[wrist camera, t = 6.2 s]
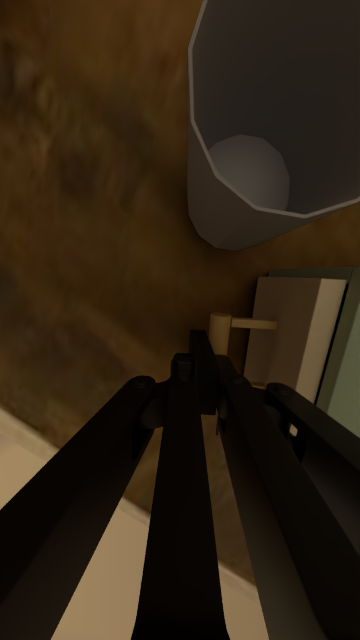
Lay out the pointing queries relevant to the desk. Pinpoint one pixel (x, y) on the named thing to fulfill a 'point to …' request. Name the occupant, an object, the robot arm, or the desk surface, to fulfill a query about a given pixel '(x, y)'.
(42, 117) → the desk surface
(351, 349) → the cabinet
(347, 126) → the cup
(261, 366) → the drawer
